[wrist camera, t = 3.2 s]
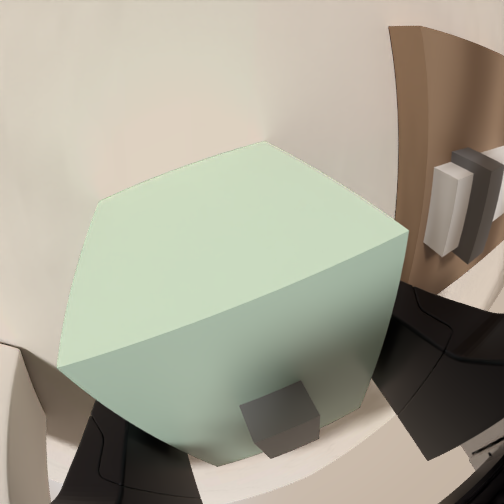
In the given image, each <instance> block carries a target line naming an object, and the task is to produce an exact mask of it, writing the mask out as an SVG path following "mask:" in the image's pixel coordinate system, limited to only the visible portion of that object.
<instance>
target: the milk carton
mask: <svg viewBox="0 0 504 504" xmlns="http://www.w3.org/2000/svg"><path fill="white" fill-rule="evenodd" d="M46 422H47V420H46V415H45V413H44V411H43V409H42V406H41V404H40V402H39V400H38V397H37V395H36V393H35V390H34V388H33V385H32V382H31V380H30V377H29V374H28V372H27V369H26V366H25V363H24V360H23V357H22V354H21V351H20V350H19V349H18V348H15V347H11V346H7V345H4V344H0V504H50V503H51V500H50V493H49V492H50V491H49V482H48V470H47V451H46Z"/></svg>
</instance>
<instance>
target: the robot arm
mask: <svg viewBox="0 0 504 504" xmlns="http://www.w3.org/2000/svg"><path fill="white" fill-rule="evenodd" d="M372 380H373V381H374V382H375V384H376V385H377V387H378V388H379V390H380V391H381V393H382V394H383V395H384V397H385V398H386V400H387V401H388V403H389V404H390V406H391V407H392V409H393V410H394V412H395V413H396V414H397V415H398V418H399V419H400V421H401V422H402V423H403V425H404V427H405V428H406V430H407V431H408V432H409V434H410V435H411V437H412V438H413V440H414V441H415V443H416V444H417V446H418V447H419V449H420V450H421V452H422V454H423V455H424V457H425V458H426V459H427V461H429V460H431V459H433V458H435V457H437V456H440V455H442V454H444V453H446V452H448V451H450V450H452V449H453V448H456V447H458V446H459V445H461V446H462V448H463V449H464V451H465V452H466V454H467V455H468V457H469V458H470V459H469V461H470V463H471V464H472V466H473V467H474V469H475V470H476V471H475V472H474V473H473V474H472V475H471V476H470V477H469V478H468V479H467V480H466V481H465V482H463V483H462V484H461V485H460V486H459V487H458V488H457V489H456V490H454V491H453V492H452V493H451V494H450V495H449V496H447V497H446V498H445V499H444V500H442V501H441V502H440V503H439V504H504V314H499V313H498V314H497V313H492V312H488V311H484V310H481V309H478V308H475V307H472V306H469V305H465V304H462V303H459V302H456V301H453V300H450V299H447V298H444V297H441V296H438V295H436V294H433V293H431V292H428V291H425V290H423V289H420V288H418V287H416V286H414V287H413V286H412V285H410V284H408V283H406V282H403V281H401V280H400V282H399V287H398V291H397V295H396V299H395V303H394V307H393V311H392V315H391V318H390V322H389V326H388V329H387V332H386V336H385V339H384V342H383V346H382V349H381V352H380V355H379V358H378V361H377V364H376V367H375V369H374V372H373V375H372ZM91 415H92V416H90V417H89V420H88V423H87V426H86V428H85V431H84V434H83V436H82V439H81V442H80V444H79V447H78V449H77V452H76V454H75V457H74V459H73V462H72V464H71V466H70V469H69V471H68V474H67V476H66V479H65V481H64V484H63V486H62V489H61V491H60V493H59V494H58V496H57V497H56V498H55V500H53V501H52V502H51V503H50V504H203V503H202V500H201V499H200V498H201V497H200V494H199V491H198V488H197V485H196V482H195V479H194V475H193V472H192V469H191V465H190V462H189V458H188V455H187V453H185V452H183V451H181V450H179V449H177V448H175V447H173V446H171V445H169V444H167V443H165V442H163V441H161V440H160V439H158V438H156V437H154V436H152V435H150V434H149V433H147V432H145V431H143V430H142V429H140V428H138V427H137V426H135V425H133V424H132V423H130V422H129V421H127V420H125V419H124V418H122V417H121V416H119V415H118V414H116V413H115V412H113V411H112V410H110V409H109V408H107V407H106V406H104V405H103V404H101V403H100V402H99V401H97V400H96V401H95V404H94V406H93V409H92V412H91Z"/></svg>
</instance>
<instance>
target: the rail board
mask: <svg viewBox="0 0 504 504" xmlns="http://www.w3.org/2000/svg"><path fill="white" fill-rule="evenodd" d="M389 31H390V37H391V44H392V50H393V58H394V66H395V75H396V86H397V100H398V121H399V166H398V189H397V203H396V215H395V221H397V222H398V223H399V224H401V225H402V226H404V227H405V228H406V229H408V230H409V234H408V240H407V246H406V252H405V258H404V263H403V268H402V273H401V278H400V280H401V281H403V282H406V283H408V284H410V285H412V286H413V287H414V286H416V287H418V288H420V289H423V290H425V291H428V292H431V293H433V294H436V295H437V294H438V293H440V292H441V291H442V290H444V289H445V288H446V287H448V286H449V285H450V284H452V283H453V282H454V281H456V280H457V279H458V278H459V277H461V276H462V275H463V274H465V273H466V272H467V271H468V270H470V269H471V268H472V267H473V266H474V265H476V264H477V263H478V262H479V261H480V260H482V259H483V258H484V257H485V256H486V255H487V254H489V253H490V252H491V251H492V250H493V249H494V248H495V247H496V246H497V245H499V244H500V243H501V242H502V241H503V240H504V56H503V55H501V54H499V53H497V52H495V51H492V50H490V49H488V48H485V47H483V46H481V45H478V44H476V43H473V42H471V41H468V40H465V39H462V38H459V37H457V36H454V35H451V34H447V33H444V32H441V31H437V30H434V29H430V28H427V27H423V26H389Z"/></svg>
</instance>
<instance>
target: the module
mask: <svg viewBox="0 0 504 504" xmlns="http://www.w3.org/2000/svg"><path fill="white" fill-rule="evenodd" d="M408 234H409V230H408V229H406V228H405V227H404V226H402V225H401V224H399V223H398V222H397V221H395V220H394V219H392V218H391V217H390V216H388V215H387V214H385V213H384V212H383V211H381V210H380V209H378V208H377V207H375V206H374V205H372V204H371V203H369V202H368V201H366V200H365V199H363V198H362V197H360V196H359V195H357V194H356V193H354V192H353V191H351V190H349V189H348V188H346V187H345V186H343V185H342V184H340V183H338V182H337V181H335V180H334V179H332V178H330V177H329V176H327V175H325V174H324V173H322V172H320V171H319V170H317V169H315V168H313V167H312V166H310V165H308V164H307V163H305V162H303V161H301V160H299V159H298V158H296V157H294V156H292V155H290V154H289V153H287V152H285V151H283V150H281V149H279V148H278V147H276V146H274V145H272V144H270V143H268V142H266V141H263V142H260V143H256V144H253V145H249V146H246V147H242V148H239V149H236V150H232V151H229V152H226V153H223V154H220V155H216V156H213V157H210V158H207V159H204V160H201V161H198V162H196V163H193V164H190V165H187V166H184V167H181V168H179V169H176V170H173V171H171V172H168V173H165V174H163V175H160V176H158V177H155V178H152V179H150V180H147V181H145V182H143V183H140V184H138V185H135V186H133V187H130V188H128V189H126V190H123V191H121V192H119V193H117V194H114V195H112V196H110V197H108V198H105V199H103V200H101V201H99V203H98V206H97V208H96V211H95V213H94V216H93V219H92V222H91V224H90V227H89V230H88V233H87V236H86V239H85V242H84V245H83V248H82V251H81V255H80V258H79V261H78V265H77V268H76V272H75V275H74V279H73V283H72V287H71V291H70V295H69V299H68V304H67V308H66V313H65V318H64V323H63V328H62V334H61V340H60V346H59V353H58V360H57V369H58V370H59V371H61V372H62V373H63V374H64V375H65V376H66V377H68V378H69V379H70V380H71V381H72V382H74V383H75V384H76V385H77V386H79V387H80V388H81V389H83V390H84V391H85V392H86V393H88V394H89V395H90V396H92V397H93V398H95V399H96V400H97V401H99V402H100V403H101V404H103V405H104V406H106V407H107V408H109V409H110V410H112V411H113V412H115V413H116V414H118V415H119V416H121V417H122V418H124V419H125V420H127V421H129V422H130V423H132V424H133V425H135V426H137V427H138V428H140V429H142V430H143V431H145V432H147V433H149V434H150V435H152V436H154V437H156V438H158V439H160V440H161V441H163V442H165V443H167V444H169V445H171V446H173V447H175V448H177V449H179V450H181V451H183V452H185V453H187V454H189V455H192V456H194V457H196V458H198V459H201V460H203V461H205V462H208V463H210V464H212V465H215V466H217V467H218V466H222V465H225V464H229V463H232V462H236V461H239V460H242V459H245V458H248V457H251V456H254V455H257V454H260V453H263V452H264V453H265V454H266V455H267V456H268V457H269V458H270V459H272V458H274V457H277V456H280V455H282V454H285V453H287V452H290V451H292V450H295V449H297V448H299V447H302V446H304V445H306V444H308V443H311V442H313V441H315V440H317V439H319V432H320V428H322V427H324V426H326V425H328V424H330V423H332V422H334V421H336V420H338V419H340V418H342V417H344V416H345V415H347V414H349V413H351V412H353V411H355V410H356V409H358V408H360V406H361V403H362V401H363V398H364V396H365V393H366V391H367V388H368V386H369V383H370V380H371V378H372V375H373V372H374V369H375V367H376V364H377V361H378V358H379V355H380V352H381V349H382V346H383V342H384V339H385V336H386V332H387V329H388V326H389V322H390V318H391V315H392V311H393V307H394V303H395V299H396V295H397V291H398V287H399V282H400V278H401V273H402V268H403V263H404V258H405V252H406V246H407V240H408Z"/></svg>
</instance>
